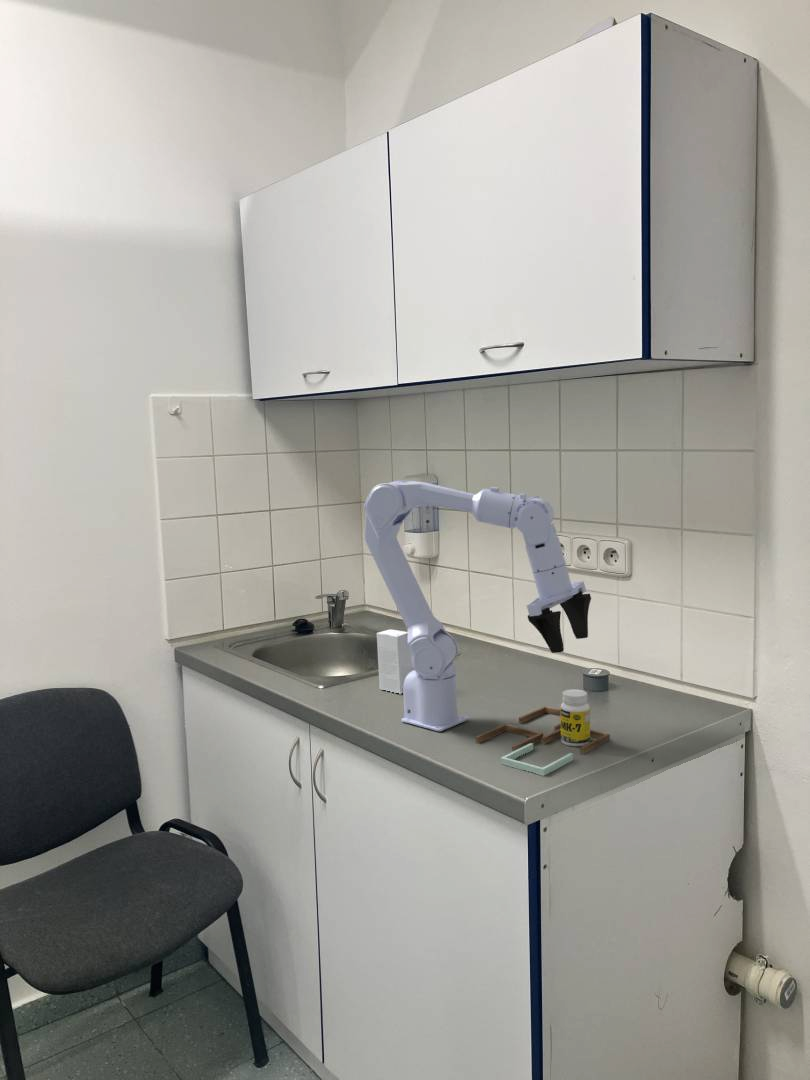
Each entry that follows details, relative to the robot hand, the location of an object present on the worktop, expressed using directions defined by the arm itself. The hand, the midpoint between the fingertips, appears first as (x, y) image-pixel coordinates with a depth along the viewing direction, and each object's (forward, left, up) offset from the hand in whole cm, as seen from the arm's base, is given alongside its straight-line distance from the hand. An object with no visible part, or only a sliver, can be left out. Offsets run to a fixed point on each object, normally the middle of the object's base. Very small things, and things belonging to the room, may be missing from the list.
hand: (570, 644), depth 150 cm
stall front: (+4, -5, -15) cm, 16 cm away
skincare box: (-41, -1, -15) cm, 44 cm away
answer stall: (+4, -16, -15) cm, 22 cm away
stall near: (-5, -11, -15) cm, 19 cm away
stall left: (-5, +1, -15) cm, 16 cm away
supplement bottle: (+4, -5, -15) cm, 16 cm away
